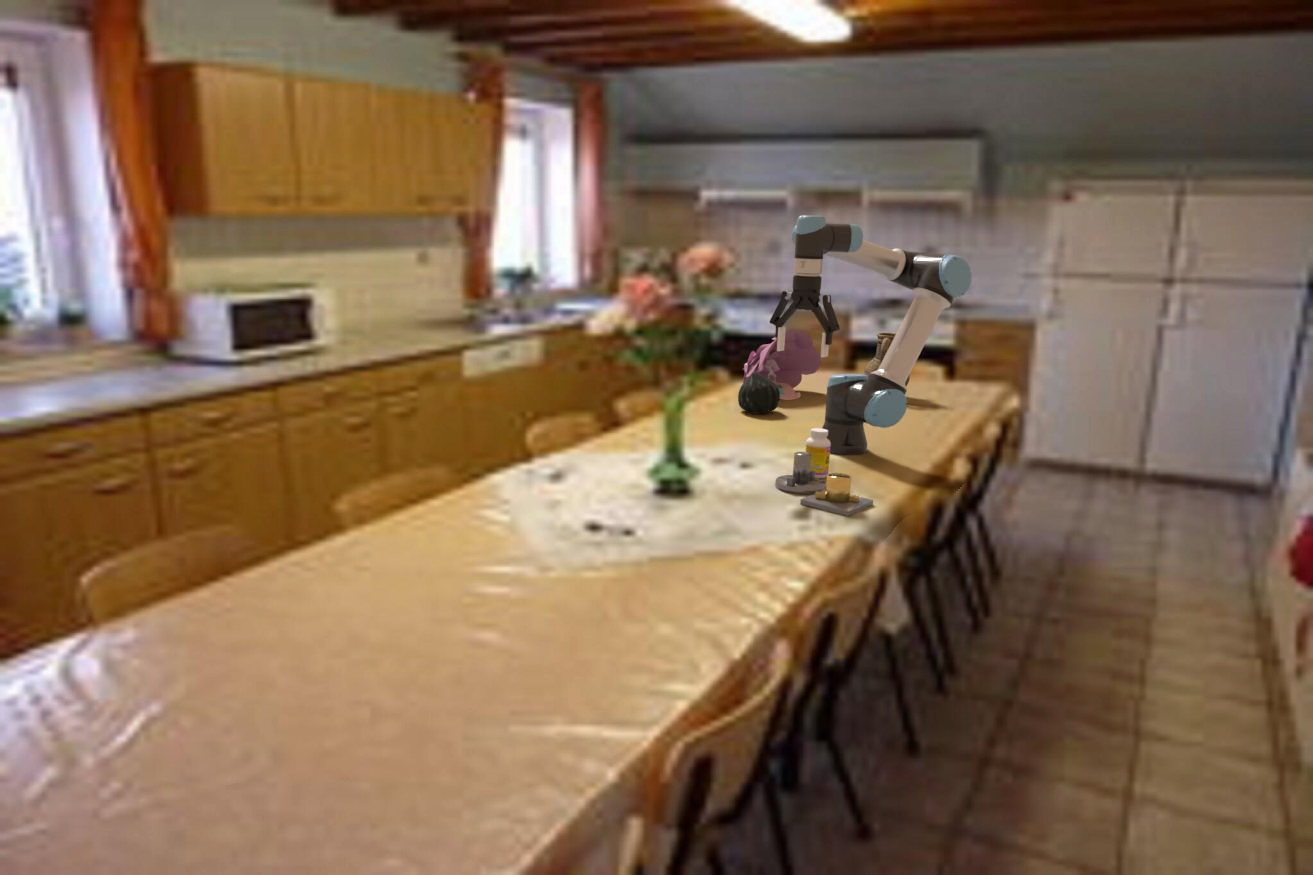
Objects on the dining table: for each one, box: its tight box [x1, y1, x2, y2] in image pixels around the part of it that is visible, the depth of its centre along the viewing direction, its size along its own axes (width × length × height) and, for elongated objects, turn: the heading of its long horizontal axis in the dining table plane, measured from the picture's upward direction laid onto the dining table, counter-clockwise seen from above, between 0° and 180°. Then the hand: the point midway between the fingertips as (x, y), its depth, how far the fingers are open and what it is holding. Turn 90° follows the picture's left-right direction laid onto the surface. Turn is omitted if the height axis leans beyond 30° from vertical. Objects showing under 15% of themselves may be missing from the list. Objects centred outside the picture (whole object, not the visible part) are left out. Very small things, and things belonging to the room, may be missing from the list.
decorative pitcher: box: [863, 332, 911, 387], centre depth 372 cm, size 22×18×25 cm
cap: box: [815, 472, 861, 503], centre depth 232 cm, size 11×6×6 cm, turn 80°
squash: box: [737, 372, 781, 415], centre depth 335 cm, size 14×15×15 cm
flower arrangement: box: [742, 329, 822, 401], centre depth 366 cm, size 35×24×28 cm
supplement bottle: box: [804, 427, 831, 479], centre depth 256 cm, size 7×7×13 cm
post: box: [774, 451, 826, 496], centre depth 245 cm, size 13×13×9 cm
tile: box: [800, 490, 874, 517], centre depth 233 cm, size 13×13×1 cm
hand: (802, 353), depth 257 cm, fingers open, 13 cm apart
